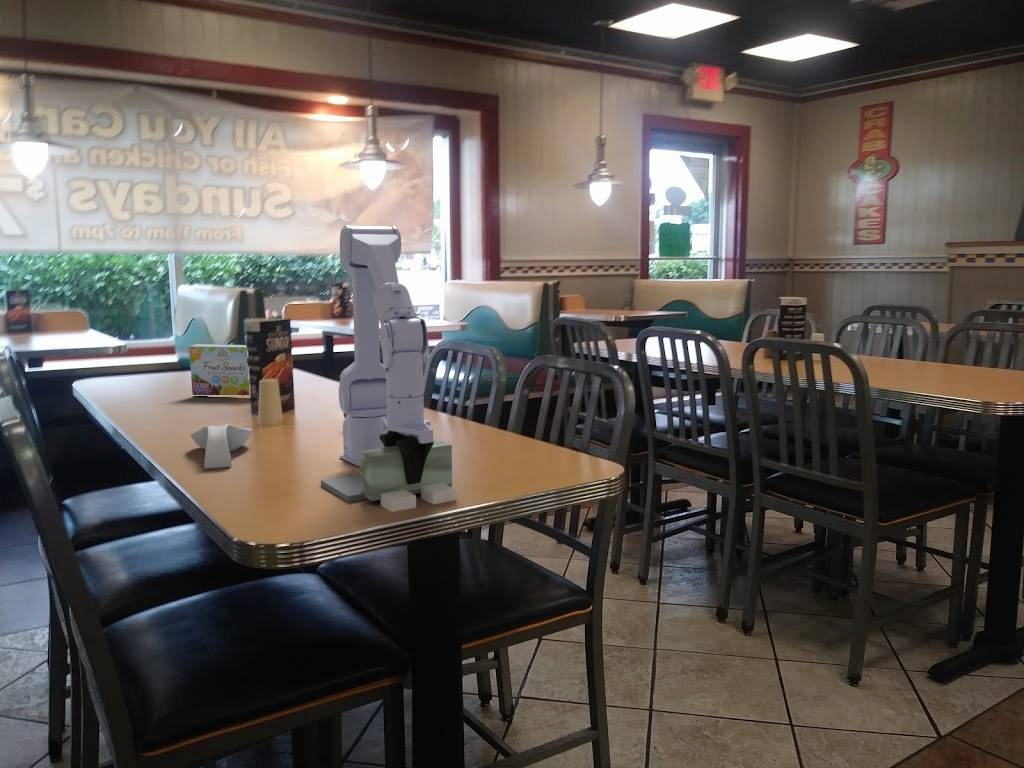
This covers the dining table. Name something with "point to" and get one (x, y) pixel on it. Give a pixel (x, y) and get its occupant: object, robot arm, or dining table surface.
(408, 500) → the chalk tile
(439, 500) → the chalk tile
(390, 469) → the block
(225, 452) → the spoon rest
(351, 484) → the slate board
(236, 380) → the snack box
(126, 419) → the dining table surface
